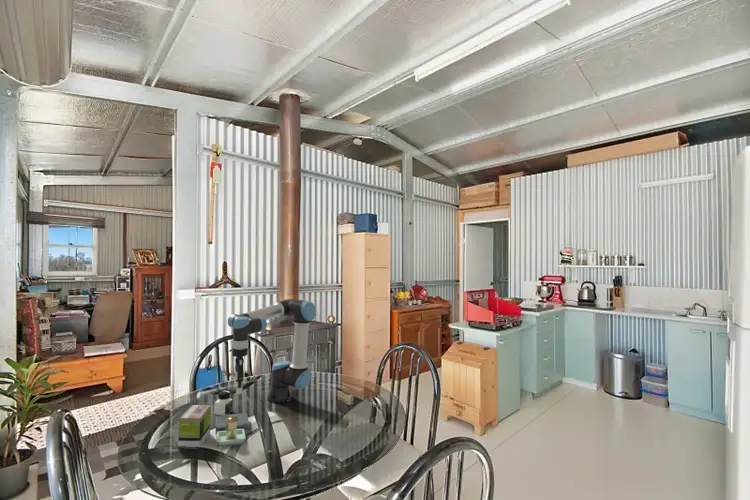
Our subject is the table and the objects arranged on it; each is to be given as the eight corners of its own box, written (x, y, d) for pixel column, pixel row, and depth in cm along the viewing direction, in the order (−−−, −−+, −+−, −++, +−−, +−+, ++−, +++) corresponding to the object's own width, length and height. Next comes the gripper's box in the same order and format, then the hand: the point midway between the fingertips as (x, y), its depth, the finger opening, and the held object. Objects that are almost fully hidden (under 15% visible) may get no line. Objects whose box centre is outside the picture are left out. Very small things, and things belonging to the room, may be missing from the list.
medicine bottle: (224, 416, 213) (226, 395, 213) (213, 414, 214) (215, 393, 214) (232, 411, 220) (233, 390, 220) (221, 409, 221) (222, 388, 221)
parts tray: (243, 433, 195) (244, 428, 195) (245, 443, 185) (245, 438, 185) (216, 436, 190) (216, 431, 190) (216, 447, 180) (217, 442, 180)
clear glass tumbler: (236, 434, 191) (237, 415, 191) (236, 439, 186) (238, 419, 186) (224, 436, 189) (226, 416, 189) (225, 441, 184) (226, 421, 184)
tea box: (190, 432, 192) (192, 404, 192) (210, 433, 193) (212, 404, 193) (177, 448, 177) (179, 417, 177) (199, 449, 178) (201, 417, 178)
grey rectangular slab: (246, 419, 210) (247, 412, 210) (248, 430, 198) (248, 423, 198) (215, 423, 204) (216, 415, 204) (215, 434, 192) (216, 426, 192)
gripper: (231, 341, 203) (229, 380, 204) (233, 355, 180) (231, 399, 181) (245, 340, 206) (243, 379, 207) (250, 354, 183) (248, 397, 184)
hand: (238, 388), depth 194 cm, fingers open, 13 cm apart
